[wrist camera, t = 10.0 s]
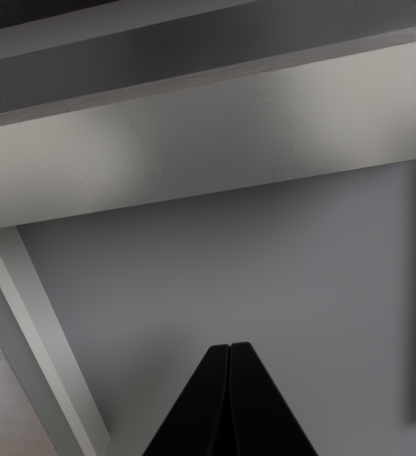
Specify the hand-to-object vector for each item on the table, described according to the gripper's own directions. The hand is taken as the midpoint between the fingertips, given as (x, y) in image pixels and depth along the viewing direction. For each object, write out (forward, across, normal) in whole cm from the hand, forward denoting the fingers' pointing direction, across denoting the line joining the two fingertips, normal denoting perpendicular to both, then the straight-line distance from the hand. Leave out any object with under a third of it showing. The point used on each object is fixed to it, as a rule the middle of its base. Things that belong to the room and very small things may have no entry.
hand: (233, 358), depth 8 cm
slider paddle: (+2, 0, -5) cm, 6 cm away
